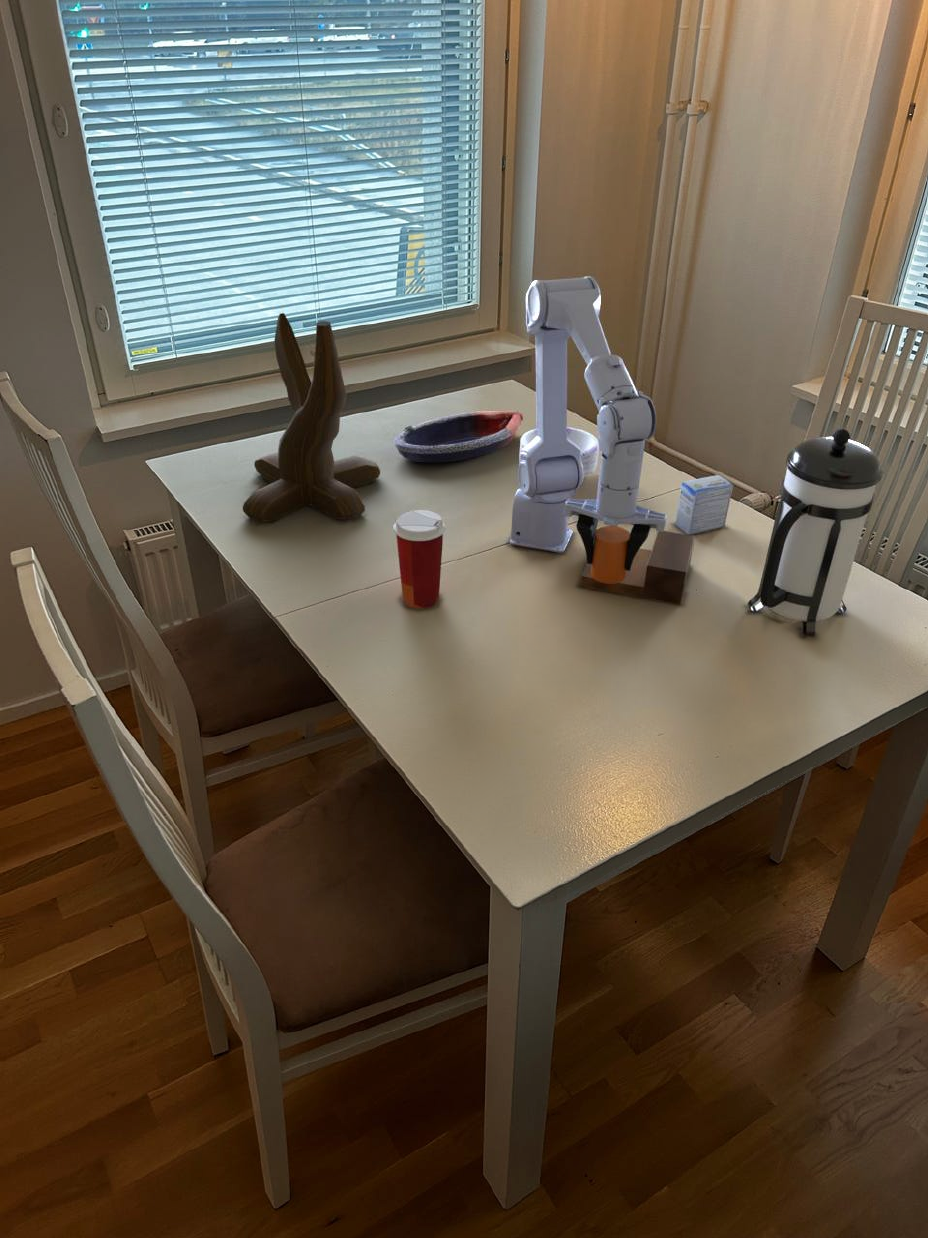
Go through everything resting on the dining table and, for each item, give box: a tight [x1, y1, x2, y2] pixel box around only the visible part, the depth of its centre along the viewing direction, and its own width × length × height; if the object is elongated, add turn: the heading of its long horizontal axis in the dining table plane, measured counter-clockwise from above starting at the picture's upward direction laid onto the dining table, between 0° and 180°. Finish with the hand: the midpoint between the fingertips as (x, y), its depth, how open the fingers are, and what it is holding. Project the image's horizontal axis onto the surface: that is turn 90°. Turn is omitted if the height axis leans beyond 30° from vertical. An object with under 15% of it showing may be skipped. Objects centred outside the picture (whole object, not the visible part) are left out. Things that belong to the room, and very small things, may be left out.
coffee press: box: [747, 428, 884, 638], centre depth 133 cm, size 17×16×30 cm
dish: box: [394, 410, 524, 463], centre depth 190 cm, size 16×31×5 cm, turn 121°
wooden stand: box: [242, 312, 381, 523], centre depth 164 cm, size 29×29×35 cm
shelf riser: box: [579, 530, 696, 605], centre depth 149 cm, size 16×12×6 cm
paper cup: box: [392, 509, 446, 610], centre depth 140 cm, size 8×8×14 cm
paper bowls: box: [518, 426, 600, 479], centre depth 178 cm, size 15×15×8 cm
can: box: [591, 525, 631, 584], centre depth 136 cm, size 5×5×7 cm
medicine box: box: [674, 474, 734, 535], centre depth 162 cm, size 8×4×9 cm, turn 113°
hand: (609, 563), depth 137 cm, fingers closed on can, 5 cm apart
